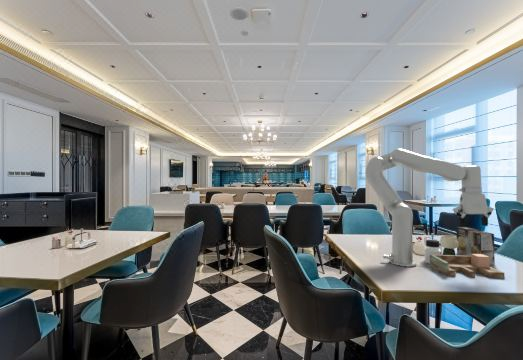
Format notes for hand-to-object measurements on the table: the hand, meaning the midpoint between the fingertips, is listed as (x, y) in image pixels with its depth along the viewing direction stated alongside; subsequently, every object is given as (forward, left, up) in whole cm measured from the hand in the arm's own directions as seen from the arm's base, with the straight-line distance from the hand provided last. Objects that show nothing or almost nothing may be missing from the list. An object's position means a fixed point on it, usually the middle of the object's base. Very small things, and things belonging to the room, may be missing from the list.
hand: (473, 225), depth 125 cm
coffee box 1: (+15, +30, -22) cm, 40 cm away
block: (+2, 0, -19) cm, 19 cm away
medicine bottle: (-13, +12, -22) cm, 28 cm away
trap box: (-6, -3, -22) cm, 23 cm away
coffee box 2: (+14, +16, -22) cm, 30 cm away
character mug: (-1, +19, -22) cm, 29 cm away
